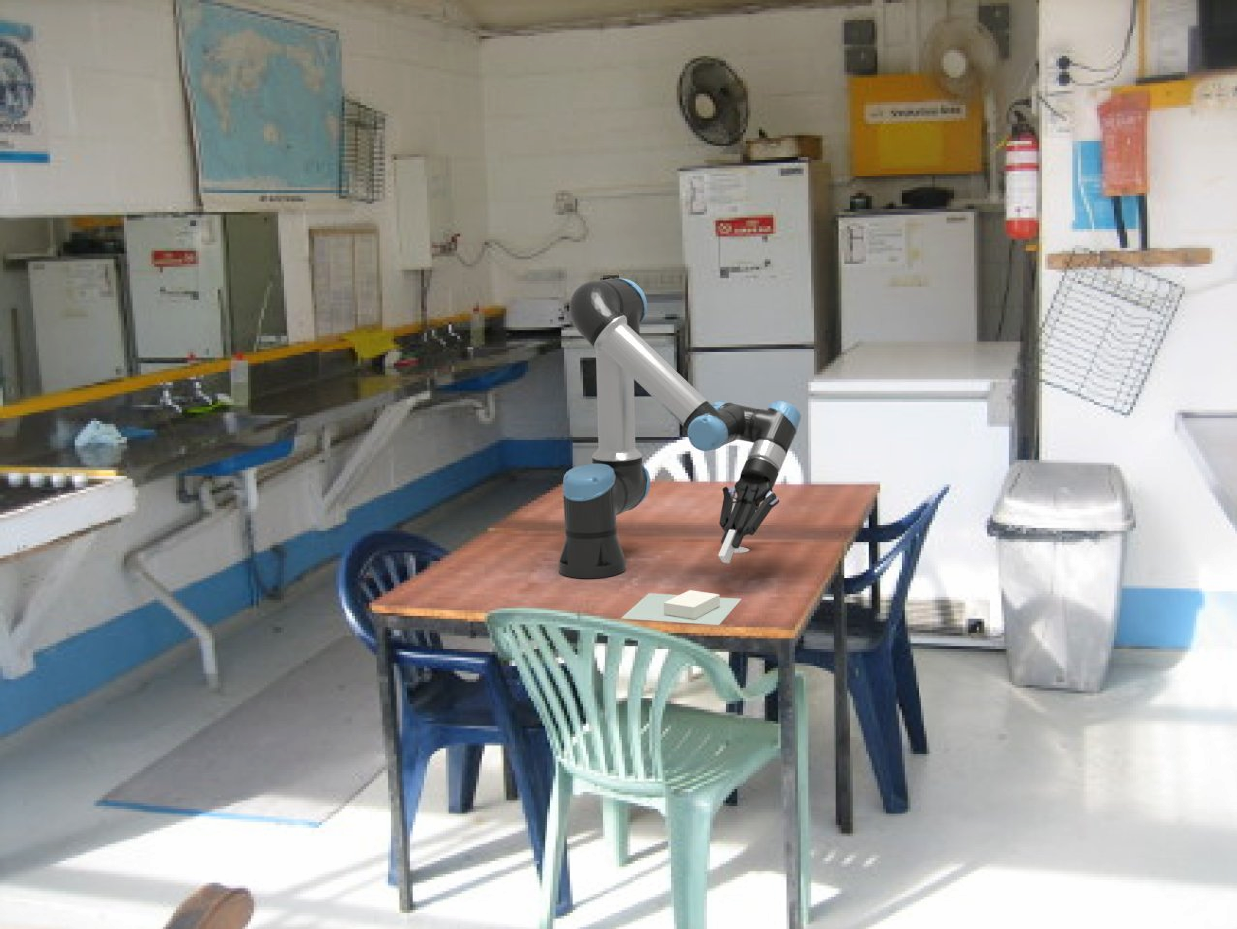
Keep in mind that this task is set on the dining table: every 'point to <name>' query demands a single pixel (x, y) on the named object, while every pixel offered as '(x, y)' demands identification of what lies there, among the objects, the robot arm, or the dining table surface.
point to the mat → (654, 611)
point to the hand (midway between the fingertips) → (723, 559)
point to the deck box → (691, 604)
